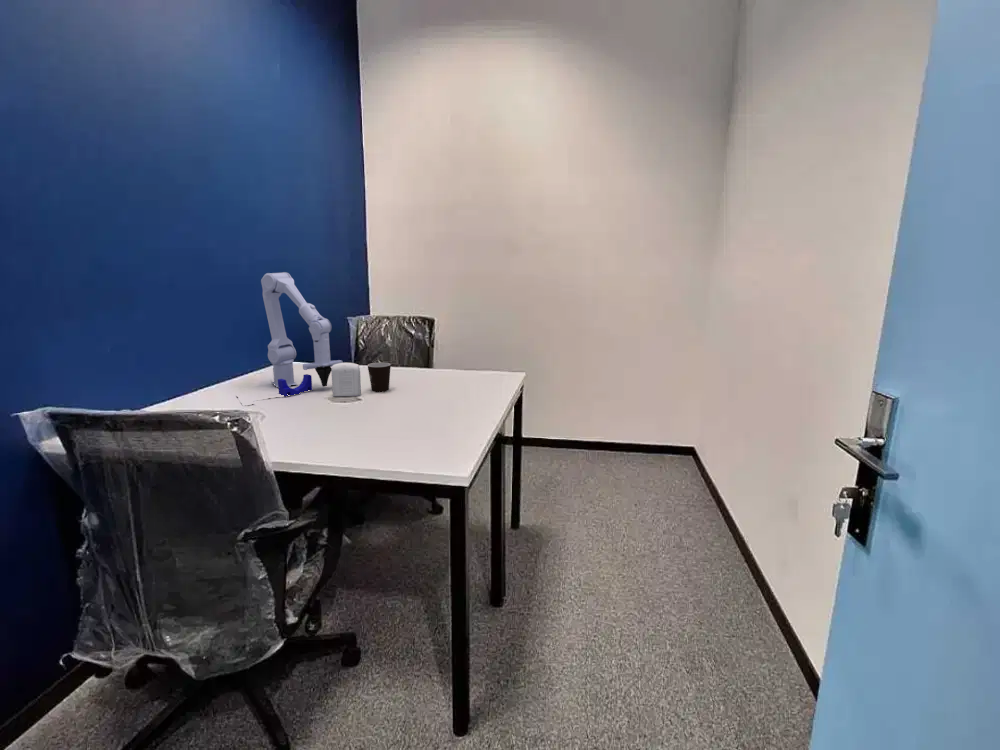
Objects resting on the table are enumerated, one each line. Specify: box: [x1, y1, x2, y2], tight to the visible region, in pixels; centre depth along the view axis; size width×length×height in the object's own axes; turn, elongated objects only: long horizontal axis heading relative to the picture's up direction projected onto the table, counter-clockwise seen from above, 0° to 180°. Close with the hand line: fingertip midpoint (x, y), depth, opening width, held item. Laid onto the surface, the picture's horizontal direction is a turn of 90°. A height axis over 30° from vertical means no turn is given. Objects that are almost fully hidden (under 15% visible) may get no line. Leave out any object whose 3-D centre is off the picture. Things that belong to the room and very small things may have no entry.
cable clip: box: [277, 374, 313, 396], centre depth 210 cm, size 12×4×6 cm, turn 141°
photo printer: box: [331, 362, 362, 397], centre depth 207 cm, size 10×4×12 cm, turn 98°
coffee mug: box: [367, 362, 392, 393], centre depth 216 cm, size 12×9×10 cm
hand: (324, 385), depth 216 cm, fingers closed
